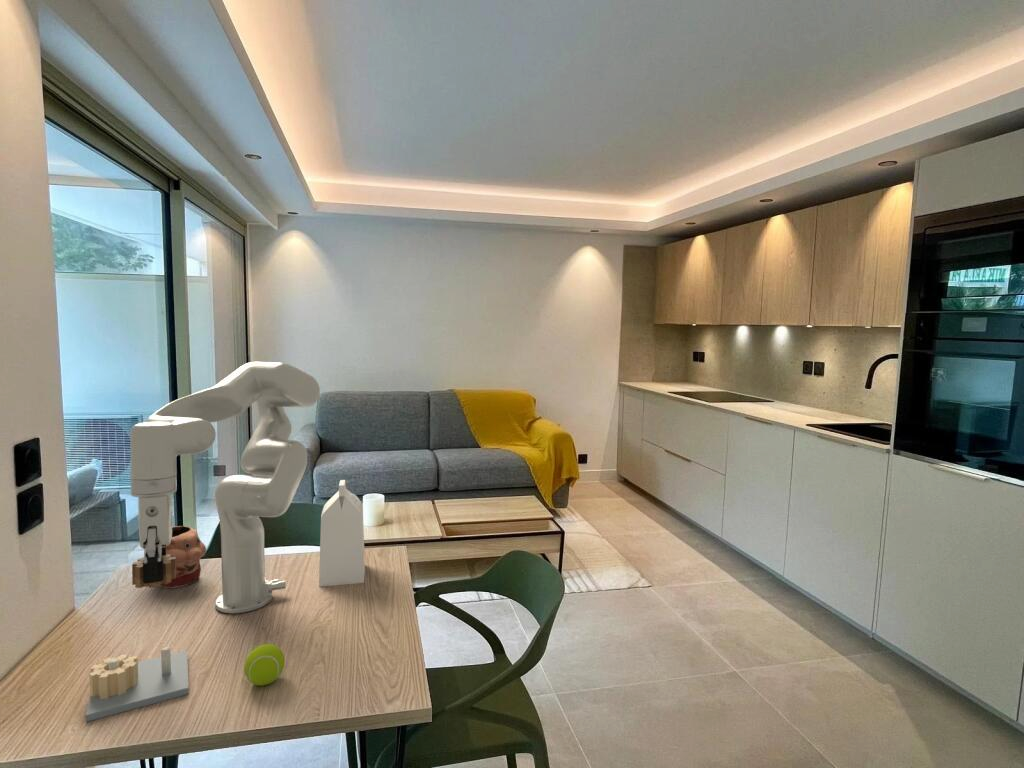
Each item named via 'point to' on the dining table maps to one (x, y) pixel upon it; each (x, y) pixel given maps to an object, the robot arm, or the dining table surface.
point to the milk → (342, 540)
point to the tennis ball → (264, 664)
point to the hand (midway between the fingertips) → (155, 574)
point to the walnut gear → (168, 572)
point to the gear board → (136, 682)
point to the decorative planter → (185, 555)
